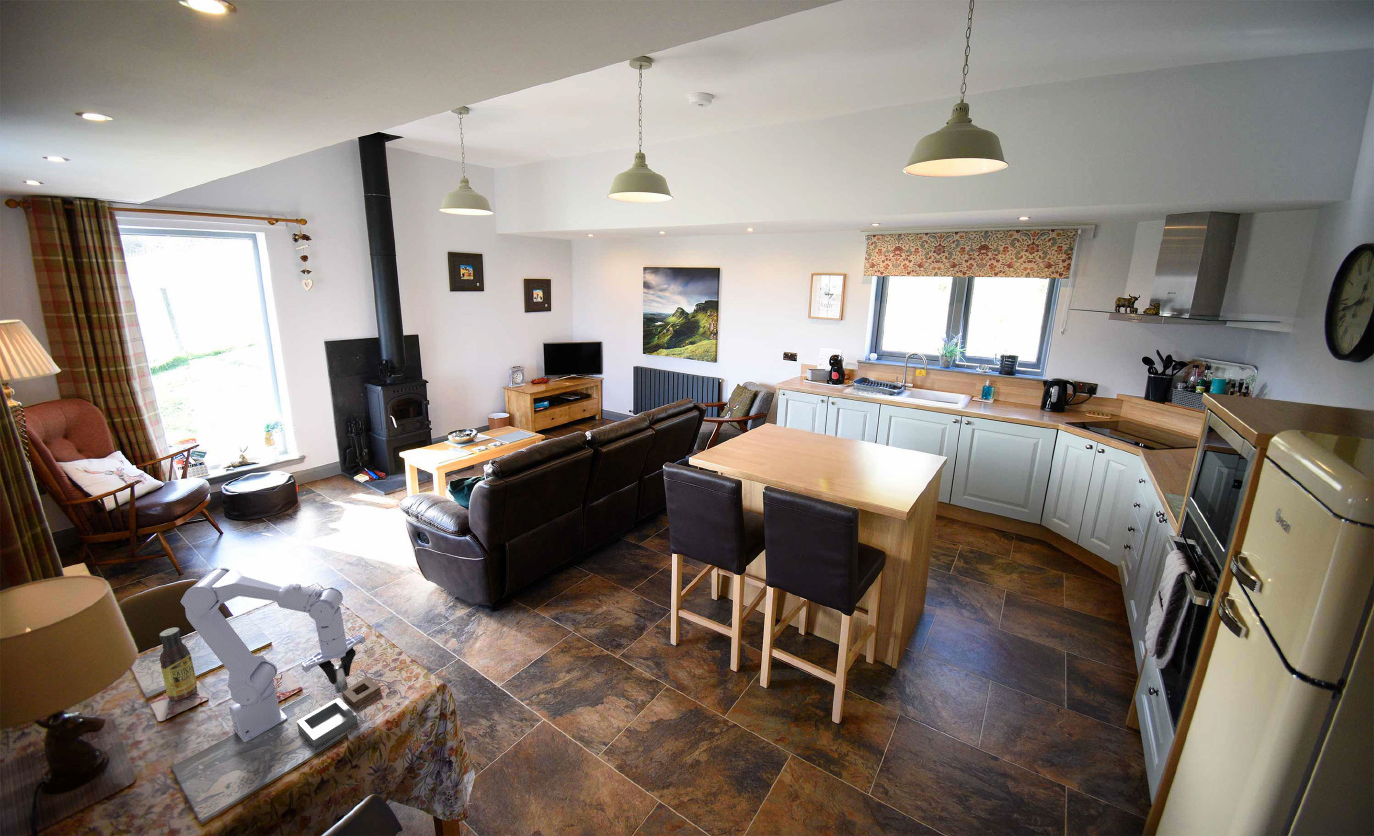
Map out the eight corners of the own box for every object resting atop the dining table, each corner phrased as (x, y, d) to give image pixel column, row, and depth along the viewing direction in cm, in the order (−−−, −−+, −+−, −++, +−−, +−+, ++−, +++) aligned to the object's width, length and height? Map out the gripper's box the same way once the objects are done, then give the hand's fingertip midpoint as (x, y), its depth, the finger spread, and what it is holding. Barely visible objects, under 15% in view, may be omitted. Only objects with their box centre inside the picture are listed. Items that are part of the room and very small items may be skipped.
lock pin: (338, 694, 144) (334, 672, 142) (333, 690, 145) (329, 668, 143) (349, 688, 146) (345, 666, 144) (344, 683, 147) (340, 662, 146)
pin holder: (354, 708, 148) (353, 702, 148) (342, 697, 152) (341, 691, 151) (381, 692, 154) (380, 686, 153) (368, 682, 157) (367, 676, 157)
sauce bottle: (180, 704, 149) (163, 642, 144) (162, 700, 150) (144, 638, 145) (205, 686, 155) (189, 626, 150) (187, 683, 156) (171, 623, 151)
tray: (315, 749, 135) (313, 740, 134) (298, 730, 141) (296, 721, 140) (357, 723, 143) (356, 714, 142) (340, 706, 149) (338, 697, 148)
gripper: (307, 656, 133) (316, 702, 137) (368, 625, 145) (375, 668, 148) (294, 645, 137) (303, 690, 140) (355, 616, 149) (362, 658, 152)
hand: (339, 678), depth 145 cm, fingers closed on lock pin, 3 cm apart
